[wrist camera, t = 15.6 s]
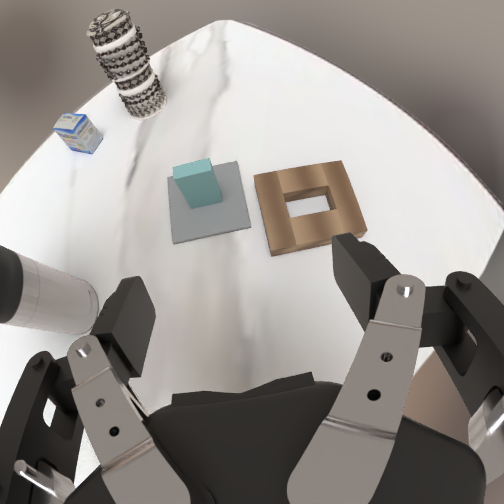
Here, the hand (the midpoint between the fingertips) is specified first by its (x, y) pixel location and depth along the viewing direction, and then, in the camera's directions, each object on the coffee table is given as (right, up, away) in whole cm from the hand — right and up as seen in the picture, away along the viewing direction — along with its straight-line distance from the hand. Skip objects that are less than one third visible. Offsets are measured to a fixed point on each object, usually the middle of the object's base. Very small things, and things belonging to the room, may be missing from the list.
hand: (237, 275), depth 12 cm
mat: (-7, +9, +33) cm, 35 cm away
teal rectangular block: (-7, +9, +33) cm, 35 cm away
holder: (+9, +7, +32) cm, 34 cm away
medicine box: (-35, +24, +41) cm, 59 cm away
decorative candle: (-22, +32, +42) cm, 57 cm away
